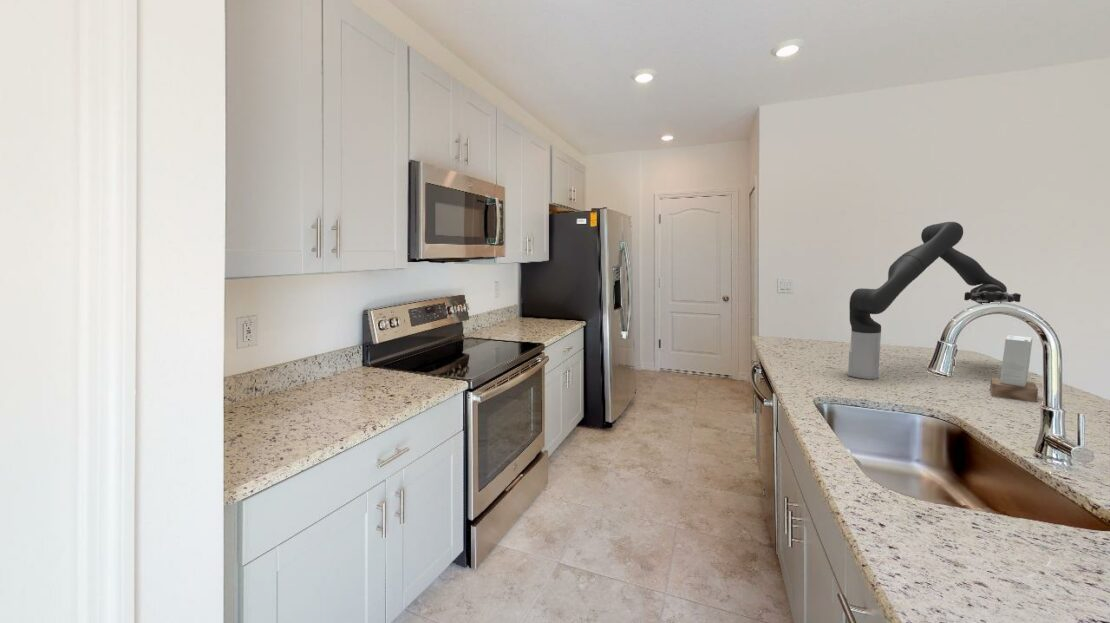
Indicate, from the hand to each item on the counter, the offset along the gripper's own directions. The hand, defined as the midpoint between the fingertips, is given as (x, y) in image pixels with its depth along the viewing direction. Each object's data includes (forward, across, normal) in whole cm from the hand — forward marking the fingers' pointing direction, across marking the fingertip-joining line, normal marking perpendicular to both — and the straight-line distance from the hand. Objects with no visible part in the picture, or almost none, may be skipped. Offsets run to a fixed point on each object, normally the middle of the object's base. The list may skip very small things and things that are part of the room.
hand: (992, 298), depth 156 cm
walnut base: (+12, +6, +30) cm, 33 cm away
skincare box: (+12, +6, +26) cm, 29 cm away
